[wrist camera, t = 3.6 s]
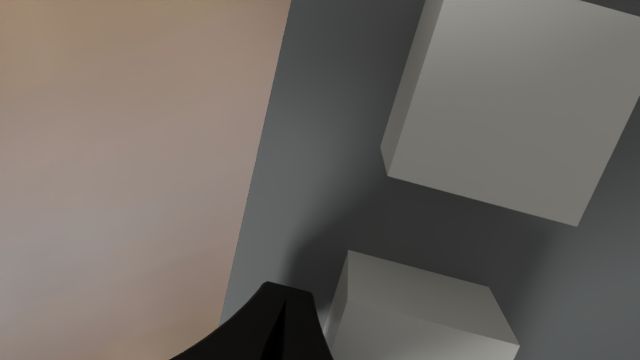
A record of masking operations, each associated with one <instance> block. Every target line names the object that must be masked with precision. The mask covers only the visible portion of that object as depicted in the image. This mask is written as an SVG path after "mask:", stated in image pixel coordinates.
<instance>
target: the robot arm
mask: <svg viewBox="0 0 640 360" xmlns="http://www.w3.org/2000/svg"><path fill="white" fill-rule="evenodd" d="M170 360H334V359H333V357H332V355H331V352H330V350H329V347H328V345H327V342H326V339H325V337H324V334H323V331H322V328H321V325H320V322H319V318H318V315H317V311H316V306H315V301H314V296H313V295H312V293H311V292H308V291H304V290H301V289H297V288H293V287H289V286H285V285H281V284H277V283H273V282H270V281H266V282H264V283H262V285H261V286H260V288H259V289H258V290H257V292H256V293H255V294H254V295H253V296H252V297H251V298H250V299H249V300H248V301H247V303H246V304H245V305H243V306H242V307H241V308H240V309H239V310H238V311H237V312H236V313H235V314H234V315H233V316H232V317H231V318H229V319H228V320H227V321H226V322H225V323H223V324H222V325H221V326H220V327H218V328H217V329H216V330H215V331H213V332H212V333H211V334H209V335H208V336H207V337H205V338H204V339H202V340H201V341H199V342H198V343H197V344H195V345H193V346H192V347H190V348H189V349H187V350H186V351H184V352H182V353H180V354H179V355H177V356H175V357H173V358H172V359H170Z"/></svg>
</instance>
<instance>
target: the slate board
mask: <svg viewBox="0 0 640 360" xmlns="http://www.w3.org/2000/svg"><path fill="white" fill-rule="evenodd" d="M425 1H426V0H291V5H290V9H289V14H288V18H287V23H286V27H285V32H284V36H283V41H282V45H281V50H280V54H279V59H278V63H277V68H276V72H275V77H274V81H273V86H272V90H271V95H270V99H269V104H268V108H267V113H266V117H265V121H264V126H263V130H262V135H261V139H260V144H259V148H258V153H257V157H256V162H255V166H254V171H253V175H252V180H251V184H250V189H249V193H248V198H247V202H246V207H245V211H244V216H243V220H242V225H241V229H240V234H239V238H238V243H237V247H236V252H235V256H234V261H233V265H232V270H231V274H230V279H229V283H228V288H227V292H226V297H225V301H224V306H223V310H222V315H221V319H220V324H219V327H220V326H221V325H222V324H223V323H225V322H226V321H227V320H228V319H229V318H231V317H232V316H233V315H234V314H235V313H236V312H237V311H238V310H239V309H240V308H241V307H242V306H243V305H245V304H246V303H247V301H248V300H249V299H250V298H251V297H252V296H253V295H254V294H255V293H256V292H257V290H258V289H259V288H260V286H261V285H262V283H264V282H266V281H270V282H273V283H277V284H281V285H285V286H289V287H293V288H297V289H301V290H304V291H308V292H311V293H312V295H313V296H314V301H315V306H316V311H317V315H318V318H319V322H320V325H321V328H322V331H323V330H324V327H325V324H326V320H327V317H328V314H329V311H330V308H331V304H332V301H333V298H334V295H335V291H336V288H337V285H338V282H339V278H340V275H341V272H342V269H343V266H344V262H345V259H346V256H347V253H348V250H351V251H355V252H359V253H362V254H366V255H370V256H374V257H377V258H381V259H385V260H389V261H392V262H396V263H400V264H404V265H407V266H411V267H415V268H419V269H423V270H426V271H430V272H434V273H438V274H441V275H445V276H449V277H453V278H456V279H460V280H464V281H468V282H472V283H475V284H479V285H483V286H487V287H489V289H490V290H491V292H492V294H493V296H494V298H495V300H496V302H497V303H498V305H499V307H500V309H501V311H502V313H503V315H504V316H505V318H506V320H507V322H508V324H509V326H510V328H511V330H512V331H513V333H514V335H515V337H516V339H517V341H518V343H519V344H520V347H519V349H518V351H517V353H516V356H515V358H514V360H640V96H639V98H638V100H637V102H636V104H635V106H634V109H633V111H632V113H631V115H630V117H629V119H628V121H627V123H626V125H625V127H624V130H623V132H622V134H621V136H620V138H619V140H618V142H617V144H616V146H615V148H614V150H613V153H612V155H611V157H610V159H609V161H608V163H607V165H606V167H605V169H604V171H603V173H602V176H601V178H600V180H599V182H598V184H597V186H596V188H595V190H594V192H593V194H592V196H591V199H590V201H589V203H588V205H587V207H586V209H585V211H584V213H583V215H582V217H581V219H580V222H579V224H578V226H577V227H576V226H572V225H568V224H565V223H561V222H557V221H553V220H550V219H546V218H542V217H539V216H535V215H531V214H527V213H524V212H520V211H516V210H512V209H509V208H505V207H501V206H497V205H494V204H490V203H486V202H483V201H479V200H475V199H471V198H468V197H464V196H460V195H456V194H453V193H449V192H445V191H442V190H438V189H434V188H430V187H427V186H423V185H419V184H415V183H412V182H408V181H404V180H401V179H397V178H393V177H389V176H387V172H386V168H385V164H384V160H383V156H382V152H381V148H380V146H381V143H382V139H383V136H384V133H385V130H386V127H387V123H388V120H389V117H390V114H391V110H392V107H393V104H394V101H395V97H396V94H397V91H398V88H399V85H400V81H401V78H402V75H403V72H404V68H405V65H406V62H407V59H408V55H409V52H410V49H411V46H412V43H413V39H414V36H415V33H416V30H417V26H418V23H419V20H420V17H421V13H422V10H423V7H424V4H425ZM581 1H584V2H588V3H592V4H595V5H599V6H602V7H606V8H610V9H613V10H617V11H621V12H624V13H628V14H631V15H635V16H639V17H640V0H581Z"/></svg>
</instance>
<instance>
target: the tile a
mask: <svg viewBox="0 0 640 360" xmlns="http://www.w3.org/2000/svg"><path fill="white" fill-rule="evenodd" d="M323 334H324V337H325V339H326V342H327V345H328V347H329V350H330V352H331V355H332V357H333V359H334V360H514V358H515V356H516V353H517V351H518V349H519V347H520V344H519V343H518V341H517V339H516V337H515V335H514V333H513V331H512V330H511V328H510V326H509V324H508V322H507V320H506V318H505V316H504V315H503V313H502V311H501V309H500V307H499V305H498V303H497V302H496V300H495V298H494V296H493V294H492V292H491V290H490V289H489V287H487V286H483V285H479V284H475V283H472V282H468V281H464V280H460V279H456V278H453V277H449V276H445V275H441V274H438V273H434V272H430V271H426V270H423V269H419V268H415V267H411V266H407V265H404V264H400V263H396V262H392V261H389V260H385V259H381V258H377V257H374V256H370V255H366V254H362V253H359V252H355V251H351V250H348V253H347V256H346V259H345V262H344V266H343V269H342V272H341V275H340V278H339V282H338V285H337V288H336V291H335V295H334V298H333V301H332V304H331V308H330V311H329V314H328V317H327V320H326V324H325V327H324V330H323Z"/></svg>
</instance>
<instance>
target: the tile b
mask: <svg viewBox="0 0 640 360" xmlns="http://www.w3.org/2000/svg"><path fill="white" fill-rule="evenodd" d="M639 96H640V17H639V16H635V15H631V14H628V13H624V12H621V11H617V10H613V9H610V8H606V7H602V6H599V5H595V4H592V3H588V2H584V1H581V0H426V1H425V4H424V7H423V10H422V13H421V17H420V20H419V23H418V26H417V30H416V33H415V36H414V39H413V43H412V46H411V49H410V52H409V55H408V59H407V62H406V65H405V68H404V72H403V75H402V78H401V81H400V85H399V88H398V91H397V94H396V97H395V101H394V104H393V107H392V110H391V114H390V117H389V120H388V123H387V127H386V130H385V133H384V136H383V139H382V143H381V146H380V148H381V152H382V156H383V160H384V164H385V168H386V172H387V176H389V177H393V178H397V179H401V180H404V181H408V182H412V183H415V184H419V185H423V186H427V187H430V188H434V189H438V190H442V191H445V192H449V193H453V194H456V195H460V196H464V197H468V198H471V199H475V200H479V201H483V202H486V203H490V204H494V205H497V206H501V207H505V208H509V209H512V210H516V211H520V212H524V213H527V214H531V215H535V216H539V217H542V218H546V219H550V220H553V221H557V222H561V223H565V224H568V225H572V226H576V227H577V226H578V224H579V222H580V219H581V217H582V215H583V213H584V211H585V209H586V207H587V205H588V203H589V201H590V199H591V196H592V194H593V192H594V190H595V188H596V186H597V184H598V182H599V180H600V178H601V176H602V173H603V171H604V169H605V167H606V165H607V163H608V161H609V159H610V157H611V155H612V153H613V150H614V148H615V146H616V144H617V142H618V140H619V138H620V136H621V134H622V132H623V130H624V127H625V125H626V123H627V121H628V119H629V117H630V115H631V113H632V111H633V109H634V106H635V104H636V102H637V100H638V98H639Z"/></svg>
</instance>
